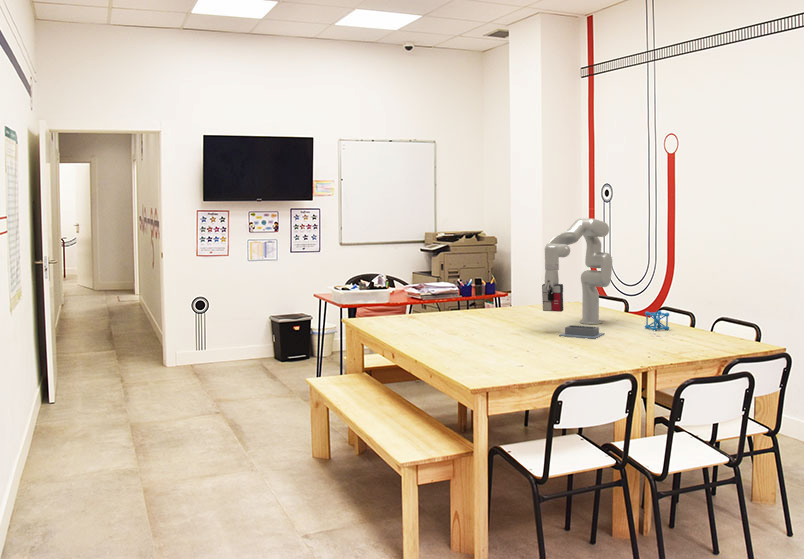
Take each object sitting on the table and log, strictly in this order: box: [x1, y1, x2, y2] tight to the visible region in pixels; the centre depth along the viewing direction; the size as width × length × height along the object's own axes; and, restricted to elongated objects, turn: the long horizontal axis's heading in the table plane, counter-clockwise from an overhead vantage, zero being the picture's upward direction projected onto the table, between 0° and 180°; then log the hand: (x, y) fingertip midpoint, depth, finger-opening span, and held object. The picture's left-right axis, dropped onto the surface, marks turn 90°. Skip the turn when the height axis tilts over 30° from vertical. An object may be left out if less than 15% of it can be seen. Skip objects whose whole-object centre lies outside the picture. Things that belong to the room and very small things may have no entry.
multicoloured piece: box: [541, 283, 564, 313], centre depth 408 cm, size 11×4×15 cm, turn 60°
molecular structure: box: [644, 310, 670, 331], centre depth 411 cm, size 10×10×10 cm
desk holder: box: [558, 324, 605, 340], centre depth 397 cm, size 16×20×4 cm
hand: (552, 299), depth 408 cm, fingers closed on multicoloured piece, 3 cm apart
